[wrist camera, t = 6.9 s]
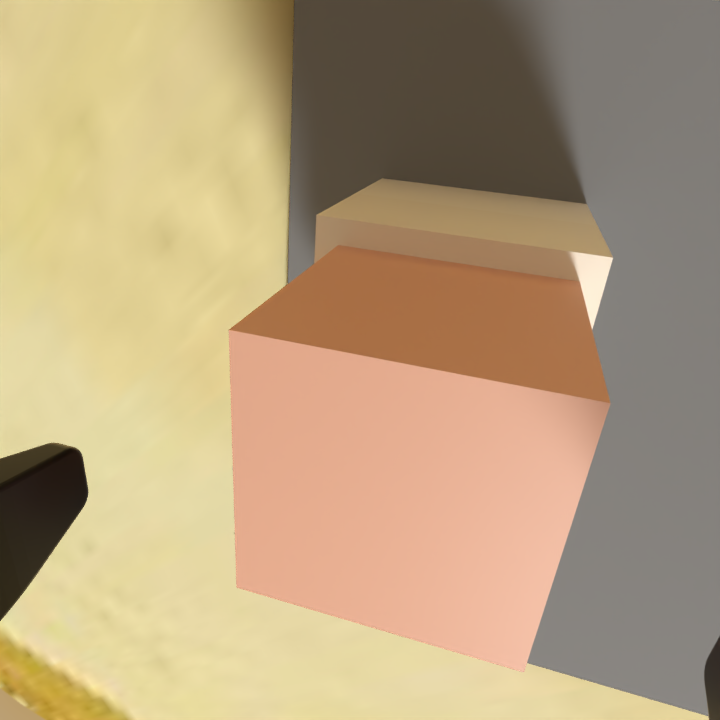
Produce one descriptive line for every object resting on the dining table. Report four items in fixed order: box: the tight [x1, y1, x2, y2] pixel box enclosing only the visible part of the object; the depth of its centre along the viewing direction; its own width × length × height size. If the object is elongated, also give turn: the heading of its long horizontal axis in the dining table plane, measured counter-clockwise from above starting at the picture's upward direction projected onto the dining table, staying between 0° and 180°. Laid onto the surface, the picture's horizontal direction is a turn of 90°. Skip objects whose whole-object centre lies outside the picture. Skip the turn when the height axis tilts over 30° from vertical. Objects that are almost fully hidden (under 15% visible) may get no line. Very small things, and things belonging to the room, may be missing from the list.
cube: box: [229, 245, 610, 672], centre depth 11 cm, size 5×5×5 cm
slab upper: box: [314, 193, 613, 329], centre depth 14 cm, size 6×6×3 cm
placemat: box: [288, 0, 720, 716], centre depth 19 cm, size 20×24×1 cm
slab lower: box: [356, 178, 597, 225], centre depth 17 cm, size 6×6×3 cm
